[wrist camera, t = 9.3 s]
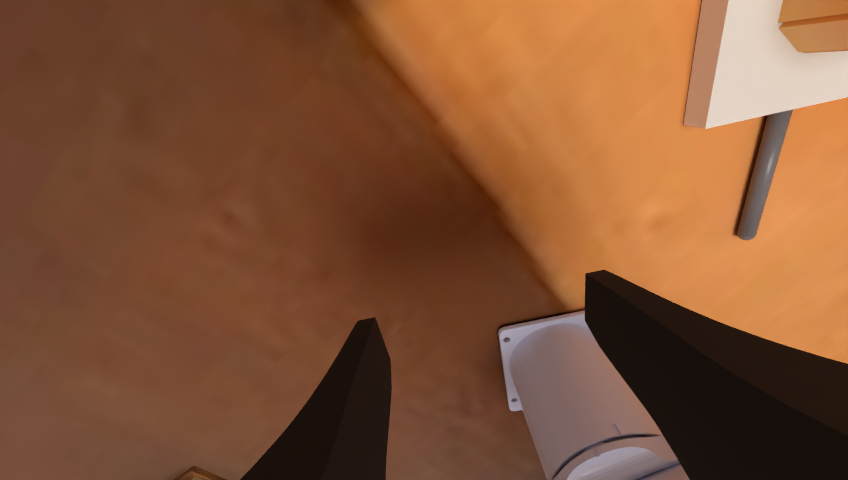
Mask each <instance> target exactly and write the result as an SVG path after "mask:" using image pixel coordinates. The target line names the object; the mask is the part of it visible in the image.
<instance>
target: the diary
mask: <svg viewBox="0 0 848 480" xmlns="http://www.w3.org/2000/svg"><path fill="white" fill-rule="evenodd" d="M175 480H226V479H223V478H221V477H219V476H216V475H214V474H212V473H209V472H207V471H205V470H203V469H200V468H198V467H196V466H193V467H192V468H190V469H189V470H188V471H186V472H185V473H184V474H182V475H181V476H179V477H178V478H177V479H175Z"/></svg>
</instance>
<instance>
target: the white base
mask: <svg viewBox="0 0 848 480" xmlns="http://www.w3.org/2000/svg"><path fill="white" fill-rule="evenodd" d="M782 2H783V0H702V5H701V11H700V18H699V25H698V31H697V38H696V44H695V51H694V58H693V64H692V71H691V78H690V84H689V91H688V98H687V104H686V111H685V117H684V124H683V125H687V126H692V127H698V128H703V129H707V128H712V127H716V126H720V125H725V124H729V123H734V122H738V121H743V120H747V119H752V118H756V117H761V116H765V115H768V117H767V121H766V124H765V128H764V132H763V136H762V140H761V143H760V147H759V151H758V155H757V159H756V163H755V166H754V170H753V174H752V178H751V182H750V185H749V189H748V193H747V197H746V201H745V204H744V208H743V212H742V216H741V220H740V223H739V227H738V231H737V235H738V237H739V238H740V239H742V240H751V239H753V238H754V237H755V236H756V233H757V230H758V226H759V223H760V219H761V216H762V213H763V209H764V206H765V202H766V199H767V196H768V192H769V189H770V185H771V182H772V179H773V175H774V172H775V168H776V165H777V162H778V158H779V155H780V151H781V148H782V145H783V141H784V138H785V134H786V131H787V127H788V124H789V121H790V117H791V114H792V110H793V109H797V108H801V107H806V106H810V105H815V104H819V103H824V102H828V101H832V100H837V99H841V98H846V97H848V51H834V52H815V53H803V52H798V51H797V50H796V49H795V48H794V46H793V45H792V44H791V43H790V42H789V40H788V39H787V38H786V37H785V35H784V34H783V33H782V32H781V31H780V29H779V27H780V26H781V25H782V24H783V23H784V22H780V23H778V19H779V15H780V11H781V6H782Z"/></svg>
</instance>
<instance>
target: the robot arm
mask: <svg viewBox="0 0 848 480" xmlns="http://www.w3.org/2000/svg"><path fill="white" fill-rule="evenodd" d="M498 336H499V343H500V350H501V357H502V364H503V371H504V378H505V385H506V392H507V399H508V406H509V409H510V410H511V411H519V410H522V411H523V414H524V416H525V419H526V422H527V425H528V428H529V430H530V433H531V436H532V439H533V442H534V444H535V447H536V450H537V453H538V456H539V459H540V461H541V464H542V467H543V470H544V473H545V475H546V478H547V480H848V364H846V363H843V362H839V361H835V360H832V359H828V358H824V357H821V356H818V355H815V354H811V353H808V352H805V351H801V350H798V349H795V348H791V347H788V346H785V345H782V344H779V343H776V342H773V341H770V340H767V339H764V338H761V337H758V336H755V335H752V334H750V333H747V332H744V331H741V330H739V329H736V328H733V327H730V326H728V325H725V324H723V323H720V322H717V321H715V320H713V319H710V318H708V317H705V316H703V315H701V314H698V313H696V312H693V311H691V310H689V309H687V308H684V307H682V306H680V305H678V304H675V303H673V302H671V301H669V300H667V299H665V298H662V297H660V296H658V295H656V294H654V293H652V292H650V291H648V290H646V289H644V288H642V287H640V286H637V285H635V284H633V283H631V282H629V281H627V280H625V279H623V278H621V277H619V276H617V275H615V274H613V273H610V272H608V271H606V270H600V271H596V272H591V273H586V281H585V310H584V311H579V312H574V313H570V314H565V315H560V316H555V317H550V318H545V319H540V320H535V321H530V322H525V323H520V324H515V325H510V326H506V327H502V328H501V329H499V331H498ZM506 337H508V338H506ZM504 338H506V339H504ZM391 390H392V386H391V361H390V357H389V354H388V351H387V349H386V346H385V343H384V340H383V338H382V335H381V332H380V329H379V327H378V324H377V321H376V318H375V317H374V318H370V319H365V320H360V321H358V322H357V323H356V325H355V326H354V328H353V330H352V331H351V333H350V335H349V337H348V338H347V340H346V342H345V344H344V345H343V347H342V349H341V351H340V352H339V354H338V356H337V357H336V359H335V360H334V362H333V364H332V365H331V367H330V369H329V370H328V372H327V373H326V375H325V376H324V378H323V379H322V381H321V382H320V384H319V385H318V387H317V388H316V390H315V391H314V393H313V394H312V396H311V397H310V399H309V400H308V401H307V403H306V404H305V405H304V407H303V408H302V410H301V411H300V412H299V413H298V415H297V416H296V417H295V419H294V420H293V421H292V422H291V424H290V425H289V426H288V427H287V429H286V430H285V431H284V432H283V433H282V435H281V436H280V437H279V438H278V439H277V440H276V441H275V443H274V444H273V445H272V446H271V447H270V448H269V449H268V450H267V451H266V453H265V454H264V455H263V456H262V457H261V458H260V459H259V460H258V462H257V463H256V464H255V465H254V466H253V467H252V468H251V469H250V470H249V471H248V472H247V473H246V474H245V475H244V476H243V477H242V478H241V479H240V480H386V454H387V441H388V429H389V417H390V404H391Z"/></svg>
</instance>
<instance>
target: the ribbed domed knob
mask: <svg viewBox="0 0 848 480" xmlns="http://www.w3.org/2000/svg"><path fill="white" fill-rule="evenodd" d="M780 22H784V23H783V24H782V25H781V26H780V27H779V29H780V31H781V32H782V33H783V34H784V35H785V37H786V38H787V39H788V40H789V42H790V43H791V44H792V45H793V46H794V48H795V49H796V50H797V51H798V52H803V53H815V52H834V51H848V0H783V2H782V6H781V11H780V15H779V19H778V23H780Z"/></svg>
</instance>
